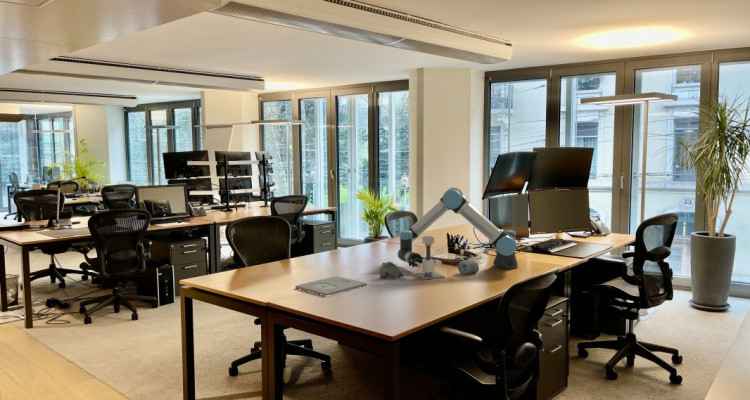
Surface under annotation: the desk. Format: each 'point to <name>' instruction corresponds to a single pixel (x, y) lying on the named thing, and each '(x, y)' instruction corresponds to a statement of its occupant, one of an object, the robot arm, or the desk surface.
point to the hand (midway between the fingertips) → (431, 265)
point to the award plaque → (331, 285)
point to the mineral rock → (390, 271)
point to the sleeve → (427, 265)
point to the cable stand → (431, 275)
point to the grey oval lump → (468, 267)
